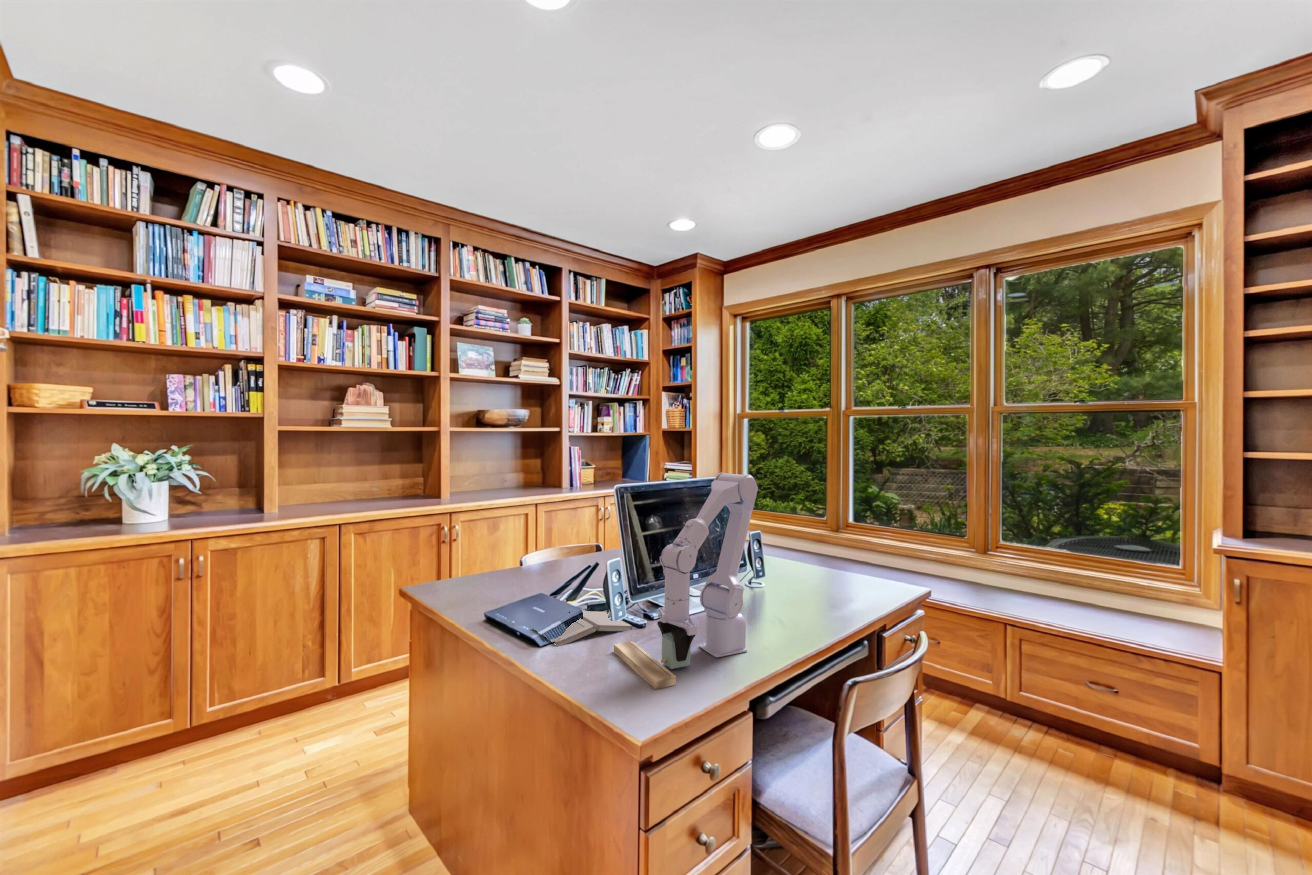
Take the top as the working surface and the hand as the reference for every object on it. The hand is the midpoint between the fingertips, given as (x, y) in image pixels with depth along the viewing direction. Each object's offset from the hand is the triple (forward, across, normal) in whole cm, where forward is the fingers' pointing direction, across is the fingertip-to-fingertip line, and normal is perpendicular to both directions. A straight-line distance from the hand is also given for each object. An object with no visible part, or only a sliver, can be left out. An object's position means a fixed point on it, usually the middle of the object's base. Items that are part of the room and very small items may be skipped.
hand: (675, 656), depth 127 cm
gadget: (+3, -32, -11) cm, 34 cm away
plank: (+2, -3, -7) cm, 8 cm away
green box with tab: (+2, 0, 0) cm, 2 cm away
